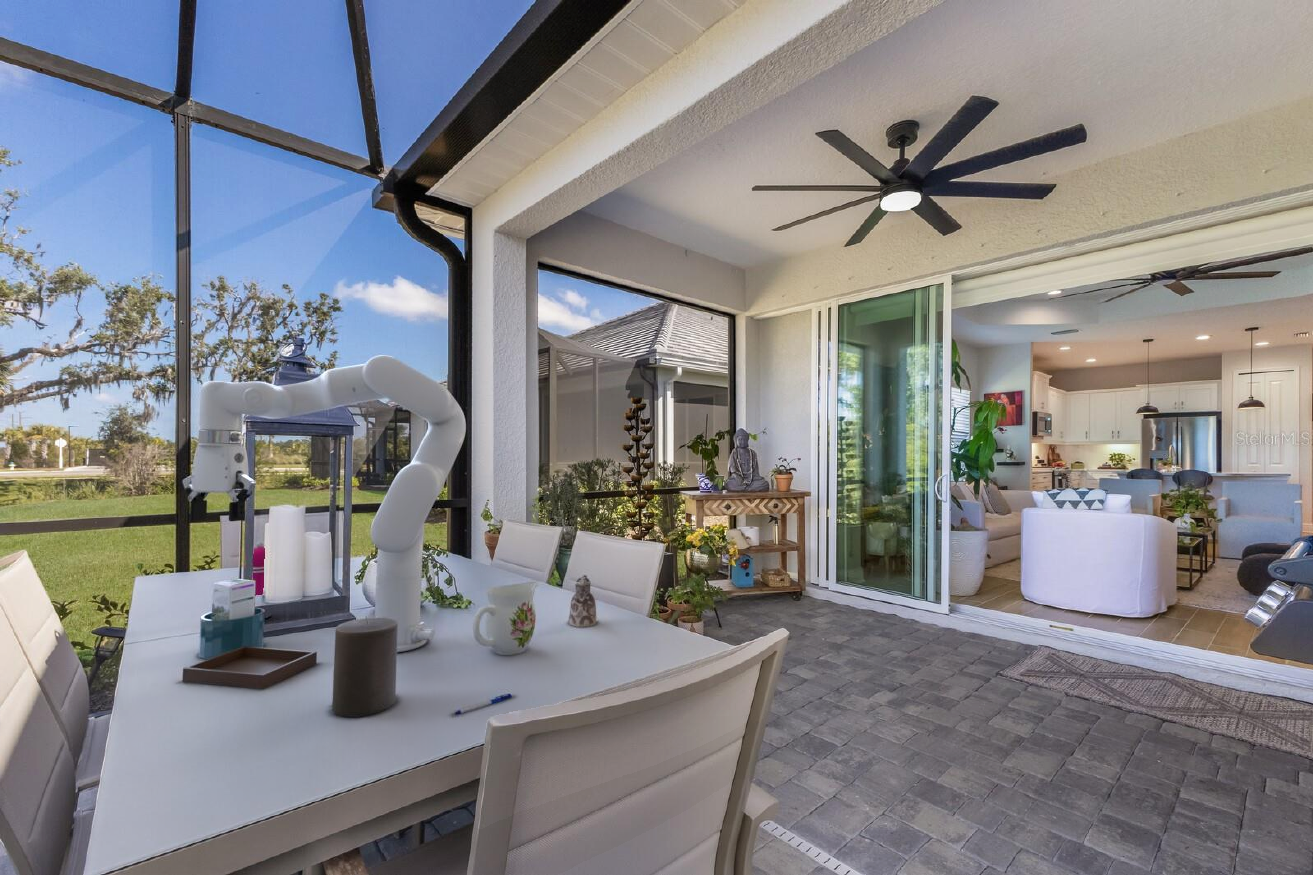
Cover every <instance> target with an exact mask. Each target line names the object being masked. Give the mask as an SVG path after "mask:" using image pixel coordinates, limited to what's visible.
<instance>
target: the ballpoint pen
mask: <svg viewBox="0 0 1313 875" xmlns="http://www.w3.org/2000/svg"><path fill="white" fill-rule="evenodd" d="M511 698H512V694H511V693H505V694H502V695H497V696H495V697H494V699H491V700H487V701H485V702H482V703H478V704H475V705H471V706H467V707H465V708H462V709H459V710H457V711H455V712H454V715H460V714H464V713H467V712H471V711H474V710H477V709H479V708H484V707H486V706H490V705H493V704H497V703H499V702H502V701H503V702H504V701H506V700H509V699H511Z"/></svg>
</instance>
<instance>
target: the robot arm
mask: <svg viewBox="0 0 1313 875" xmlns="http://www.w3.org/2000/svg"><path fill="white" fill-rule="evenodd" d="M199 395H200V396H199V417H198V418H199V419H198V437H197V438H198V441H197V445H196V448H195V451H194V457H193V462H192V470H191V474H190V475H189V476H187V477H186V478H184V479H183V480H182V485H183V488H184V492H185V494H186V495H187V500H188V501H189V503H190V504H189V520H190V521H196V520H205V519H206V518H207V513H208V512H207V511H208V500H207V499H206V497H207V496H208V494H210V493H212V494H213V493H214V494H219V493H220V494H227V496H229V498H230V500H231V501H230V502H229V504H228V521H229V522H240V521H244V520H245V518H246V502H249V498H250V497H251V496H252V495H253V490H254V489H255V487H256V485H257V482H256V480H254V479H253V478H251V477H249V459H248V454H247V449H246V446H243V440H244V439H245V435H244V415H245V416H252V417H257V418H265V419H271V420H280V419H287V418H292V417H298V416H304V415H308V414H313V413H318V412H322V411H327V410H332V409H335V408H339V407H345V406H351V405H355V404H360V403H368V402H371V401H378V400H384V399H386V400H387V399H388V401H391V402H393V403H395V404H396V405H398V406H400V407H401V408H404V409H406V410H407V411H409V412H411V413H412V414H414V415H416V416H418V417H419V418H421V419H423V420H424V421H426V422H427V431H426V433H425V435H424V437H423V439H422V440H421V442H420V444H419V447H418V449H417V450H416V453H415V454H414V457H413V458H412V460H411V462H410V463H409V464H407V465H406V466H404V467H403V468H401V469H400V470H399V471H398V473H397V474H396V475H395V477H394V479H393V480H392V483H391V485H390V486H389V489H388V490H387V492H386V494H385V496H384V498H383V500H382V501H381V504H380V506H379V508H378V510H377V512H376V514H375V516H374V518H373V520H372V521H371V525H370V530H369V533H370V538H371V541H372V544H374V546H375V547H376V548H377V555H376V570H375V571H376V574H375V595H374V596H375V599H374V618H389V619H395V620H397V623H398V626H397V653H402V652H403V653H404V652H407V651H408V652H409V651H411V650H414V649H418V648H420V647H422V646H424V645H425V644H426V643H427V641H428V642H429V641H430V642H431V641H432V640H434V637H435V629H433V628H425V621H421V606H422V605H421V600H422V599H421V598H422V574H423V554H424V541H425V522H426V520H427V518H428V516H429V513H430V512H431V510H432V507H433V506H434V504H435V502H436V500H437V498H438V497H439V496H440V495H441V493H442V491H443V489H444V485H445V482H446V481H447V479H448V476H449V474H450V472H451V470H452V468H453V466H454V463H455V461H456V459H457V456H458V455H459V452H460V450H461V448H462V446H463V443H464V441H465V437H466V432H467V423H466V417H465V415H464V411H463V410H462V407H461V406H460V404H459V403H458V401H457V400H456V399H455V397H454V396H453V395H452V393H451V392H450V391H449V389H447V387H445V386H444V385H443V384H441V383H440V382H438V381H435V380H434V379H432V378H430V377H429V376H427V375H425V374H424V373H422V372H420V371H418V370H416V369H414V368H413V367H411V366H409V365H408V364H406V363H404V362H403V361H401V360H399V359H398V358H397V357H394V356H392V355H388V354H379V355H374V356H372V357H371V358H370V359H368V360H367V361H366V362H365V363H362V364H354V365H350V366H349V365H348V366H343V367H335V368H330V369H327V370H325V371H323V372H322V373H321V374H320V375H319V376H317V377H315V378H313V379H310V380H307V381H302V382H297V383H291V384H284V385H276V384H272V383H269V382H265V381H260V380H257V381H255V380H253V381H242V382H241V381H240V382H233V381H225V380H224V381H223V380H209V381H205V382H203V383H202V384H201V386H200V394H199Z"/></svg>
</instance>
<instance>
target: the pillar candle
mask: <svg viewBox="0 0 1313 875" xmlns="http://www.w3.org/2000/svg"><path fill="white" fill-rule="evenodd" d="M397 626H398V623H397V620H395V619H389V618H375V617H367V616H365V618H357V619H353V620H349V621H345V622H343V623H340V624H338V625H337V626H336V627H335V636H334V657H333V674H332V675H333V677H332V678H333V680H332V702H331V708H332V709H331V710H332V712H333V714H334V715H336V716H339V717H345V718H347V717H352V718H353V717H354V718H358V717H362V718H363V717H367V716H371V715H375V714H377V713H380V712H383V711H385V710H387V709H389V708H391V707H392V706H393V705H394V703H395V702H396V692H397V690H396V687H397V657H398V656H397V655H398V652H397Z"/></svg>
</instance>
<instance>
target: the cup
mask: <svg viewBox="0 0 1313 875" xmlns="http://www.w3.org/2000/svg"><path fill="white" fill-rule="evenodd" d="M265 620H266V619H265V610H264V609H263V608H259V607H255V608H254V615H252V616H248V617H243V618H236V619H227V620H212V611H210V612H207V613H204V614H202V615H201V616H200V618H199V637H198V638H199V639H198V657H199V658H201V659H203V660H207V659H210V658H213V657H216V656H218V655H221V654H224V653H227V652H229V651H232V650H235V649H238V648H240V647H243V646H250V647H263V648H264V641H265V639H264V637H265Z"/></svg>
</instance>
